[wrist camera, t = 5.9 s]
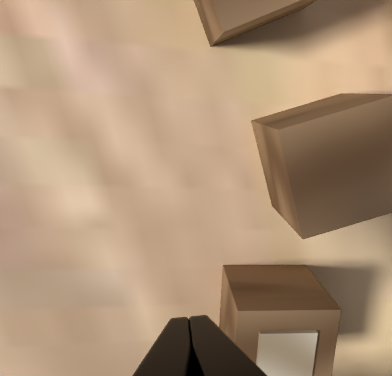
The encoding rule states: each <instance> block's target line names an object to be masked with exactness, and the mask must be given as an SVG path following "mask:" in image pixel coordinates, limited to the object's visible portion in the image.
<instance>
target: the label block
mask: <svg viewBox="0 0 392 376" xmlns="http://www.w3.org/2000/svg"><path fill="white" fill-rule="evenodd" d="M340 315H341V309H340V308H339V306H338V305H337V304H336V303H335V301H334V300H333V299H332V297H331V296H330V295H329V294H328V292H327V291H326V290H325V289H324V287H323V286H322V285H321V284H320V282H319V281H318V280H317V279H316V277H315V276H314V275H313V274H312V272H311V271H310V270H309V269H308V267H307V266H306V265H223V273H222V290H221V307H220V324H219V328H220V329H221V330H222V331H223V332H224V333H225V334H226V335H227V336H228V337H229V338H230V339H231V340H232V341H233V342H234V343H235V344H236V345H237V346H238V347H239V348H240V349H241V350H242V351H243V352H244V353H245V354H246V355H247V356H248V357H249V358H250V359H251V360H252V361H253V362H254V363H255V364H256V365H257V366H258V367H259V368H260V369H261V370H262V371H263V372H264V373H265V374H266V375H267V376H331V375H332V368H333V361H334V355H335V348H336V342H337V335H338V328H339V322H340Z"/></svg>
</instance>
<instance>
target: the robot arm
mask: <svg viewBox="0 0 392 376" xmlns="http://www.w3.org/2000/svg"><path fill="white" fill-rule="evenodd" d="M133 376H267V375H266V374H265V373H264V372H263V371H262V370H261V369H260V368H259V367H258V366H257V365H256V364H255V363H254V362H253V361H252V360H251V359H250V358H249V357H248V356H247V355H246V354H245V353H244V352H243V351H242V350H241V349H240V348H239V347H238V346H237V345H236V344H235V343H234V342H233V341H232V340H231V339H230V338H229V337H228V336H227V335H226V334H225V333H224V332H223V331H222V330H221V329H220V328H219V327H218V326H217V325H216V324H215V323H214V322H213V321H212V320H211V319H210V318H209V317H208V316H206V315H200V316H192V317H190V318H189V319H188V318H187V317H179V318H172V319H170V320H169V322H168V323H167V325H166V326H165V328H164V329H163V331H162V332H161V334H160V335H159V337H158V338H157V340H156V341H155V343H154V344H153V346H152V347H151V349H150V350H149V352H148V353H147V355H146V356H145V358H144V359H143V361H142V362H141V364H140V365H139V367H138V368H137V370H136V371H135V373H134V374H133Z"/></svg>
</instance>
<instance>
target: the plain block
mask: <svg viewBox="0 0 392 376" xmlns="http://www.w3.org/2000/svg"><path fill="white" fill-rule="evenodd" d="M251 122H252V126H253V130H254V134H255V138H256V142H257V146H258V150H259V154H260V158H261V163H262V167H263V171H264V175H265V179H266V183H267V187H268V191H269V195H270V199H271V203H272V206H273V207H274V208H275V210H276V211H277V212H278V213H279V214H280V215H281V216H282V217H283V218H284V219H285V220H286V221H287V223H288V224H289V225H290V226H291V227H292V228H293V229H294V230H295V231H296V232H297V233H298V235H299V236H300V237H301V238H302V239H306V238H309V237H312V236H316V235H319V234H322V233H326V232H329V231H332V230H336V229H339V228H342V227H346V226H349V225H352V224H355V223H359V222H362V221H365V220H369V219H372V218H375V217H379V216H382V215H385V214H389V213H392V94H338V95H335V96H332V97H328V98H325V99H322V100H318V101H315V102H312V103H308V104H305V105H302V106H298V107H295V108H292V109H288V110H285V111H282V112H278V113H275V114H272V115H268V116H265V117H262V118H258V119H255V120H252V121H251Z"/></svg>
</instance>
